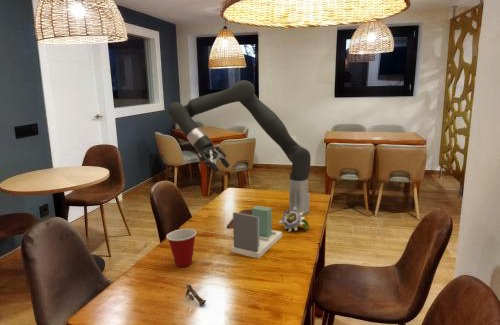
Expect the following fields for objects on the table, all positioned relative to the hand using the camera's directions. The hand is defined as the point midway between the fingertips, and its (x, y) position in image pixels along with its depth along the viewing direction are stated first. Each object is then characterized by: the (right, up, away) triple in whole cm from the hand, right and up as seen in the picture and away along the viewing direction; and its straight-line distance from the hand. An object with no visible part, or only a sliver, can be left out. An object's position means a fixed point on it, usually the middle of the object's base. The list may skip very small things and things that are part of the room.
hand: (223, 168), depth 153 cm
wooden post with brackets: (-5, -40, -44) cm, 59 cm away
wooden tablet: (+9, -25, +21) cm, 34 cm away
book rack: (+15, -30, -6) cm, 34 cm away
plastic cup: (-13, -34, -21) cm, 42 cm away
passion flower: (+31, -27, +9) cm, 43 cm away
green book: (+16, -28, -3) cm, 32 cm away
